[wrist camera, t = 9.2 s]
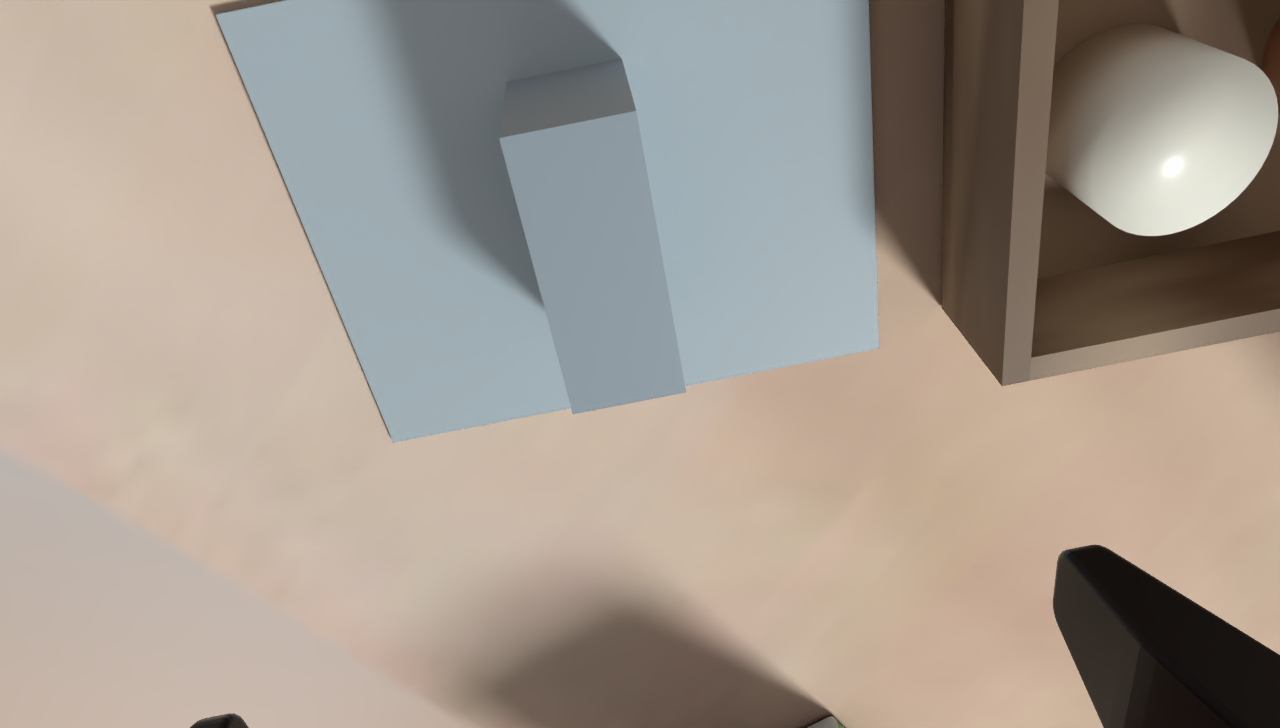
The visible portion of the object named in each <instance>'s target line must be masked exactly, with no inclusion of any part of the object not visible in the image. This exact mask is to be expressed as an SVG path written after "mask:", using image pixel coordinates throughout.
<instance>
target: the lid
mask: <svg viewBox="0 0 1280 728" xmlns="http://www.w3.org/2000/svg"><path fill="white" fill-rule="evenodd" d="M216 17H217V20H218V22H219V24H220V27H221V29H222V32H223V34H224V36H225V39H226V41H227V44H228V46H229V49H230V51H231V53H232V56H233V58H234V61H235V63H236V65H237V68H238V70H239V73H240V75H241V77H242V80H243V82H244V85H245V87H246V89H247V92H248V94H249V97H250V99H251V101H252V104H253V106H254V109H255V111H256V113H257V116H258V118H259V121H260V123H261V126H262V128H263V130H264V133H265V135H266V138H267V140H268V142H269V145H270V147H271V150H272V152H273V154H274V157H275V159H276V162H277V164H278V166H279V169H280V171H281V174H282V176H283V178H284V181H285V183H286V186H287V188H288V190H289V193H290V195H291V198H292V200H293V203H294V205H295V207H296V210H297V212H298V215H299V217H300V219H301V222H302V224H303V227H304V229H305V231H306V234H307V236H308V239H309V241H310V243H311V246H312V248H313V251H314V253H315V255H316V258H317V260H318V263H319V265H320V267H321V270H322V272H323V275H324V277H325V279H326V282H327V284H328V287H329V289H330V292H331V294H332V296H333V299H334V301H335V304H336V306H337V308H338V311H339V313H340V316H341V318H342V320H343V323H344V325H345V328H346V330H347V332H348V335H349V337H350V340H351V342H352V344H353V347H354V349H355V352H356V354H357V356H358V359H359V361H360V364H361V366H362V369H363V371H364V373H365V376H366V378H367V381H368V383H369V385H370V388H371V390H372V393H373V395H374V397H375V400H376V402H377V405H378V407H379V409H380V412H381V414H382V417H383V419H384V421H385V424H386V426H387V429H388V431H389V433H390V436H391V438H392V441H393V442H398V441H403V440H409V439H414V438H419V437H424V436H429V435H435V434H440V433H445V432H450V431H455V430H460V429H466V428H471V427H476V426H481V425H486V424H491V423H497V422H502V421H507V420H512V419H517V418H523V417H528V416H533V415H538V414H543V413H548V412H554V411H559V410H564V409H569V408H571V409H572V413H573V414H576V413H582V412H587V411H592V410H597V409H602V408H608V407H613V406H618V405H623V404H628V403H633V402H639V401H644V400H649V399H654V398H659V397H665V396H670V395H675V394H680V393H685V392H686V388H685V386H688V385H693V384H699V383H704V382H709V381H714V380H719V379H724V378H730V377H735V376H740V375H745V374H750V373H755V372H761V371H766V370H771V369H776V368H781V367H786V366H792V365H797V364H802V363H807V362H812V361H818V360H823V359H828V358H833V357H838V356H843V355H849V354H854V353H859V352H864V351H869V350H874V349H879V334H878V300H877V266H876V232H875V198H874V164H873V130H872V96H871V62H870V28H869V0H280V1H275V2H270V3H265V4H261V5H256V6H251V7H246V8H241V9H236V10H231V11H226V12H221V13H218V14H216Z"/></svg>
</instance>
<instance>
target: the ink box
mask: <svg viewBox="0 0 1280 728" xmlns="http://www.w3.org/2000/svg"><path fill="white" fill-rule="evenodd" d="M807 728H845V727H844V726H843V725H841V724H840V723H839V722H838V721H837V720H836V719H835V718H834V717H833V716H830V717H827V718H825V719H823V720H821V721H819V722H817V723H815V724H813V725H811V726H809V727H807Z"/></svg>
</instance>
